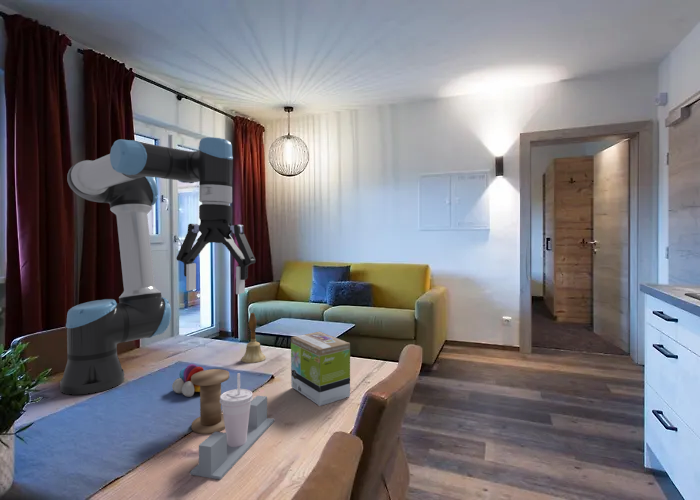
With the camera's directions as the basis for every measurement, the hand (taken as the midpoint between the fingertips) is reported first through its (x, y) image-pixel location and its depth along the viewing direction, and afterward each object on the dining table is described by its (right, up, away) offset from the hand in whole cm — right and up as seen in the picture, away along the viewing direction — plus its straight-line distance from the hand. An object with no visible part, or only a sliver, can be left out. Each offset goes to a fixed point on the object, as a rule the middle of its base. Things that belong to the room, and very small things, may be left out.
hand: (215, 291), depth 95 cm
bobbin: (+2, -29, -8) cm, 30 cm away
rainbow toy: (-10, -29, +11) cm, 32 cm away
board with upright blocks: (+10, -29, -16) cm, 35 cm away
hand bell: (0, -28, +39) cm, 47 cm away
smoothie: (+10, -29, -16) cm, 35 cm away
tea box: (+25, -29, +10) cm, 39 cm away
